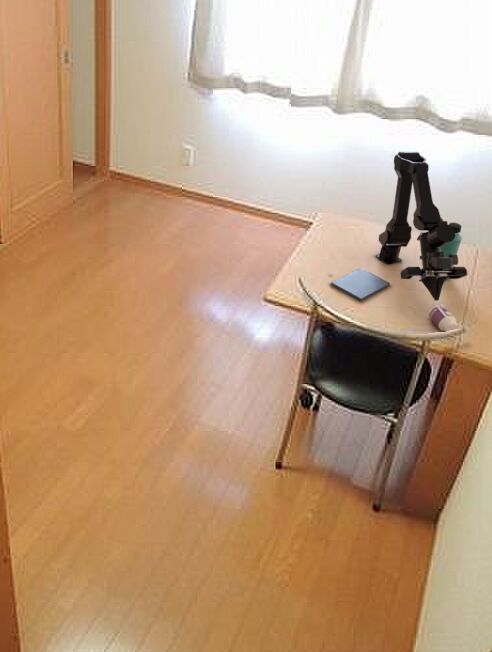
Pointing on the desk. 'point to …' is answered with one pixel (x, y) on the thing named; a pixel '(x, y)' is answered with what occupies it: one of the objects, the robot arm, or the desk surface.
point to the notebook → (360, 284)
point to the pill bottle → (443, 318)
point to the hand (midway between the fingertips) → (436, 300)
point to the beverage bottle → (452, 242)
